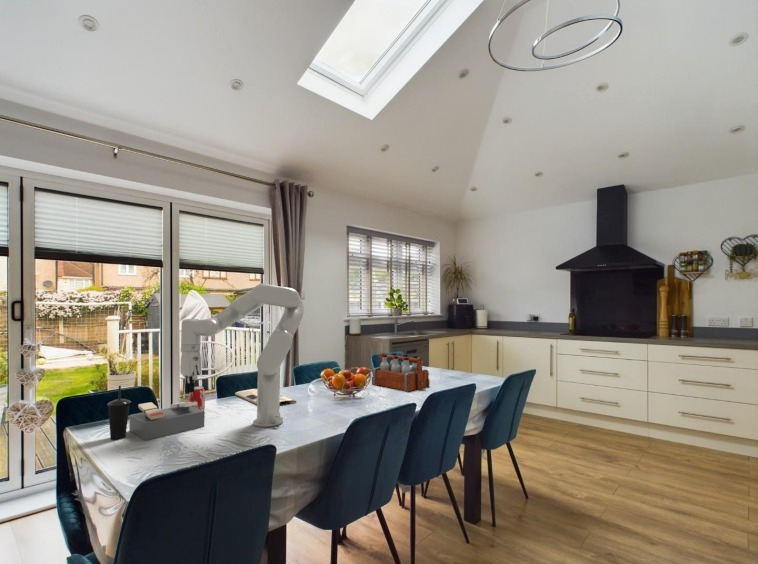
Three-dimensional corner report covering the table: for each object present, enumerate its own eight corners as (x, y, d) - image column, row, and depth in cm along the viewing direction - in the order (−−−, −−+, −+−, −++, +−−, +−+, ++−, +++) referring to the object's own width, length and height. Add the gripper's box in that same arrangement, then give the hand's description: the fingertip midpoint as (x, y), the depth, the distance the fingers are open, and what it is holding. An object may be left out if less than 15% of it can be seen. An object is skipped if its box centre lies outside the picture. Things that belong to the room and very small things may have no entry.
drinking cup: (112, 442, 151) (114, 388, 152) (102, 439, 155) (104, 386, 156) (133, 437, 158) (135, 385, 159) (123, 433, 162) (125, 383, 163)
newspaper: (235, 396, 226) (235, 391, 226) (267, 391, 239) (267, 386, 239) (264, 410, 199) (264, 404, 199) (299, 403, 212) (299, 398, 212)
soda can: (198, 415, 187) (199, 389, 187) (184, 414, 188) (185, 388, 188) (207, 411, 193) (208, 386, 194) (194, 410, 195) (195, 385, 195)
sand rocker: (164, 417, 160) (164, 413, 160) (150, 420, 157) (151, 416, 157) (151, 405, 170) (151, 401, 170) (138, 407, 166) (138, 403, 166)
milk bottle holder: (411, 393, 235) (411, 359, 236) (368, 384, 259) (369, 354, 260) (432, 387, 250) (432, 356, 251) (390, 379, 274) (390, 351, 275)
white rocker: (197, 405, 170) (197, 401, 170) (185, 407, 166) (185, 403, 167) (183, 405, 179) (182, 401, 179) (171, 407, 175) (171, 403, 176)
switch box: (204, 426, 171) (204, 408, 171) (144, 440, 153) (145, 420, 154) (181, 416, 185) (181, 399, 186) (124, 428, 168) (125, 409, 168)
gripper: (207, 349, 168) (206, 393, 167) (191, 346, 178) (190, 388, 177) (189, 350, 163) (188, 396, 162) (174, 347, 172) (172, 390, 172)
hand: (189, 392), depth 170 cm, fingers closed
